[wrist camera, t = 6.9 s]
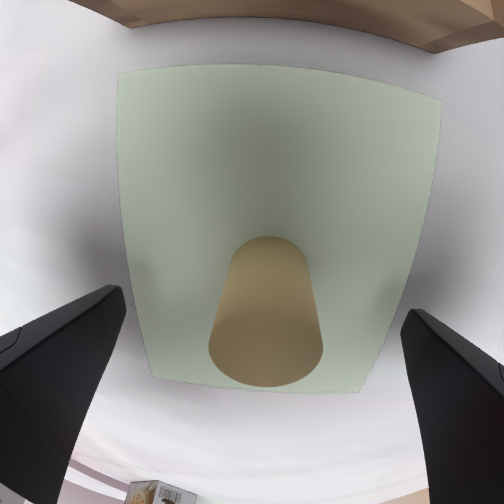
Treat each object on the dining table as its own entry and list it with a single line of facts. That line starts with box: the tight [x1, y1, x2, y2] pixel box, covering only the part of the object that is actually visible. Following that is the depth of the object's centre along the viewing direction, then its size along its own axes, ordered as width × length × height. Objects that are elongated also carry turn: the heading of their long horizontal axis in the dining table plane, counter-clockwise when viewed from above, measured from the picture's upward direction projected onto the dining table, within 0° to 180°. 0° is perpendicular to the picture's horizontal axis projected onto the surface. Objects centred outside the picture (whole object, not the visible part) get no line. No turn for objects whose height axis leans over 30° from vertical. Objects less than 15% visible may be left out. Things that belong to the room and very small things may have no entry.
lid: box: [116, 64, 442, 393], centre depth 9 cm, size 11×14×5 cm
